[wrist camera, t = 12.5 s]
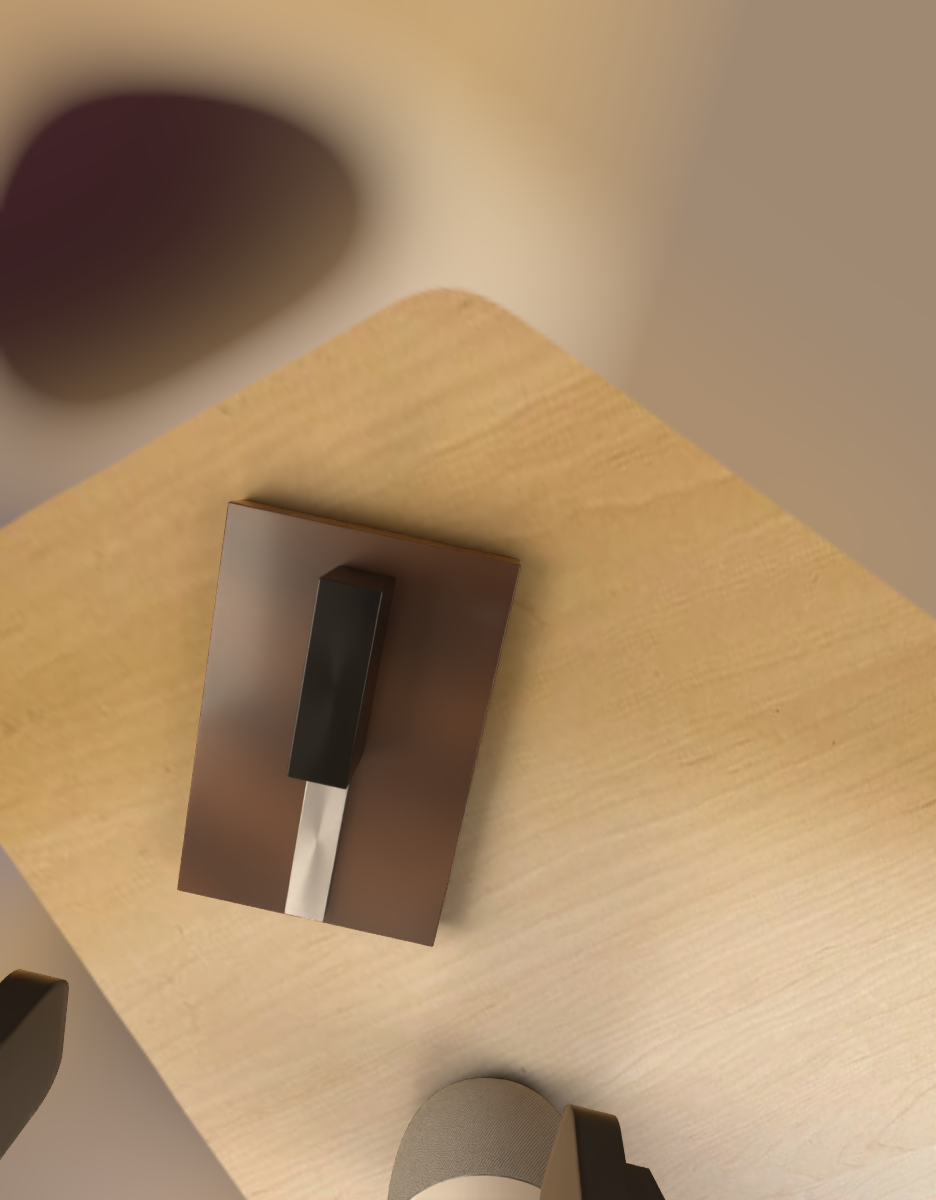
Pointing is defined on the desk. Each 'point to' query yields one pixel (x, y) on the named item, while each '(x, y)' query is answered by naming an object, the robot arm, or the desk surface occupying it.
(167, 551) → the desk surface
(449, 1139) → the smart speaker
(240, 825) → the board
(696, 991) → the desk surface
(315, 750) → the knife
